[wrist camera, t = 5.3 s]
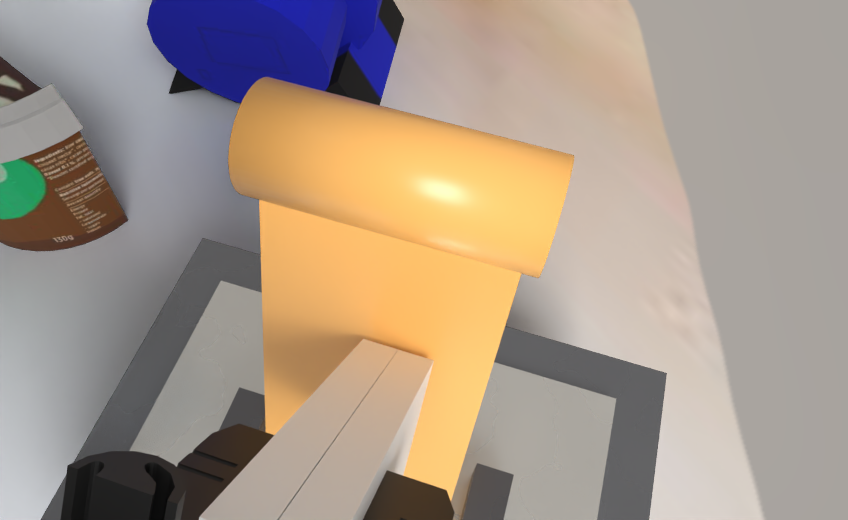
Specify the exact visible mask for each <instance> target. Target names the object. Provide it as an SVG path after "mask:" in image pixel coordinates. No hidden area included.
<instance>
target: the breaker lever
mask: <svg viewBox="0 0 848 520" xmlns="http://www.w3.org/2000/svg"><path fill="white" fill-rule="evenodd" d="M573 162H574V155H571V154H567V153H563V152H559V151H555V150H551V149H547V148H543V147H539V146H536V145H532V144H528V143H524V142H520V141H516V140H512V139H508V138H504V137H500V136H497V135H493V134H489V133H485V132H481V131H477V130H473V129H469V128H465V127H462V126H458V125H454V124H450V123H446V122H442V121H438V120H434V119H430V118H426V117H423V116H419V115H415V114H411V113H407V112H403V111H399V110H395V109H391V108H387V107H384V106H380V105H376V104H372V103H368V102H364V101H360V100H356V99H352V98H348V97H345V96H341V95H337V94H333V93H329V92H325V91H321V90H317V89H313V88H309V87H306V86H302V85H298V84H294V83H290V82H286V81H282V80H278V79H274V78H270V77H263V78H261V79H259V80H258V81H256V82H255V83H254V84H253V85H252V86H251V88H250V89H249V90H248V92H247V93H246V95H245V97H244V98H243V100H242V102H241V105H240V107H239V109H238V112H237V115H236V117H235V121H234V124H233V128H232V132H231V137H230V144H229V155H228V166H229V174H230V179H231V182H232V185H233V187H234V189H235V190H236V191H237V192H238V193H239V194H241V195H244V196H248V197H251V198H255V199H258V200H259V211H260V247H261V283H262V319H263V354H264V390H265V426H266V432H267V433H270V434H273V435H275V434H276V433H277V432H278V431H279V430H280V429H281V428H282V427H283V425H284V424H285V423H286V422H287V421H288V420H289V419H290V418H291V417H292V416H293V415H294V414H295V412H296V411H297V410H298V409H299V408H300V407H301V406H302V405H303V404H304V403H305V402H306V400H307V399H308V398H309V397H310V396H311V395H312V394H313V393H314V392H315V391H316V390H317V389H318V387H319V386H320V385H321V384H322V383H323V382H324V381H325V380H326V379H327V378H328V377H329V375H330V374H331V373H332V372H333V371H334V370H335V369H336V368H337V367H338V366H339V365H340V364H341V362H342V361H343V360H344V359H345V358H346V357H347V356H348V355H349V354H350V353H351V352H352V351H353V349H354V348H355V347H356V346H357V345H358V344H359V343H360V342H361V341H362V340H363V339H366V340H369V341H372V342H376V343H379V344H382V345H385V346H389V347H392V348H395V349H398V350H402V351H405V352H408V353H411V354H415V355H418V356H421V357H424V358H428V359H431V360H434V362H433V366H432V370H431V373H430V377H429V381H428V385H427V388H426V392H425V396H424V400H423V403H422V407H421V411H420V415H419V418H418V422H417V426H416V430H415V433H414V437H413V441H412V445H411V448H410V452H409V456H408V460H407V463H406V467H405V471H404V475H403V476H406V477H409V478H412V479H415V480H418V481H421V482H424V483H427V484H430V485H433V486H436V487H439V488H442V489H445V490H447V493H448V495H449V498H450V501H451V500H452V496H453V493H454V490H455V487H456V483H457V480H458V477H459V474H460V471H461V467H462V464H463V461H464V458H465V454H466V451H467V448H468V445H469V441H470V438H471V435H472V432H473V428H474V425H475V422H476V419H477V415H478V412H479V409H480V406H481V402H482V399H483V396H484V393H485V390H486V386H487V383H488V380H489V377H490V373H491V370H492V367H493V364H494V360H495V357H496V354H497V351H498V347H499V344H500V341H501V338H502V334H503V331H504V328H505V325H506V321H507V318H508V315H509V312H510V309H511V305H512V302H513V299H514V296H515V292H516V289H517V286H518V283H519V279H520V276H521V273H522V274H525V275H529V276H533V277H536V278H539V277H540V275H541V272H542V270H543V267H544V265H545V262H546V259H547V256H548V253H549V250H550V247H551V244H552V241H553V237H554V234H555V231H556V228H557V224H558V221H559V217H560V214H561V210H562V207H563V203H564V200H565V196H566V192H567V188H568V184H569V181H570V176H571V172H572V168H573Z"/></svg>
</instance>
